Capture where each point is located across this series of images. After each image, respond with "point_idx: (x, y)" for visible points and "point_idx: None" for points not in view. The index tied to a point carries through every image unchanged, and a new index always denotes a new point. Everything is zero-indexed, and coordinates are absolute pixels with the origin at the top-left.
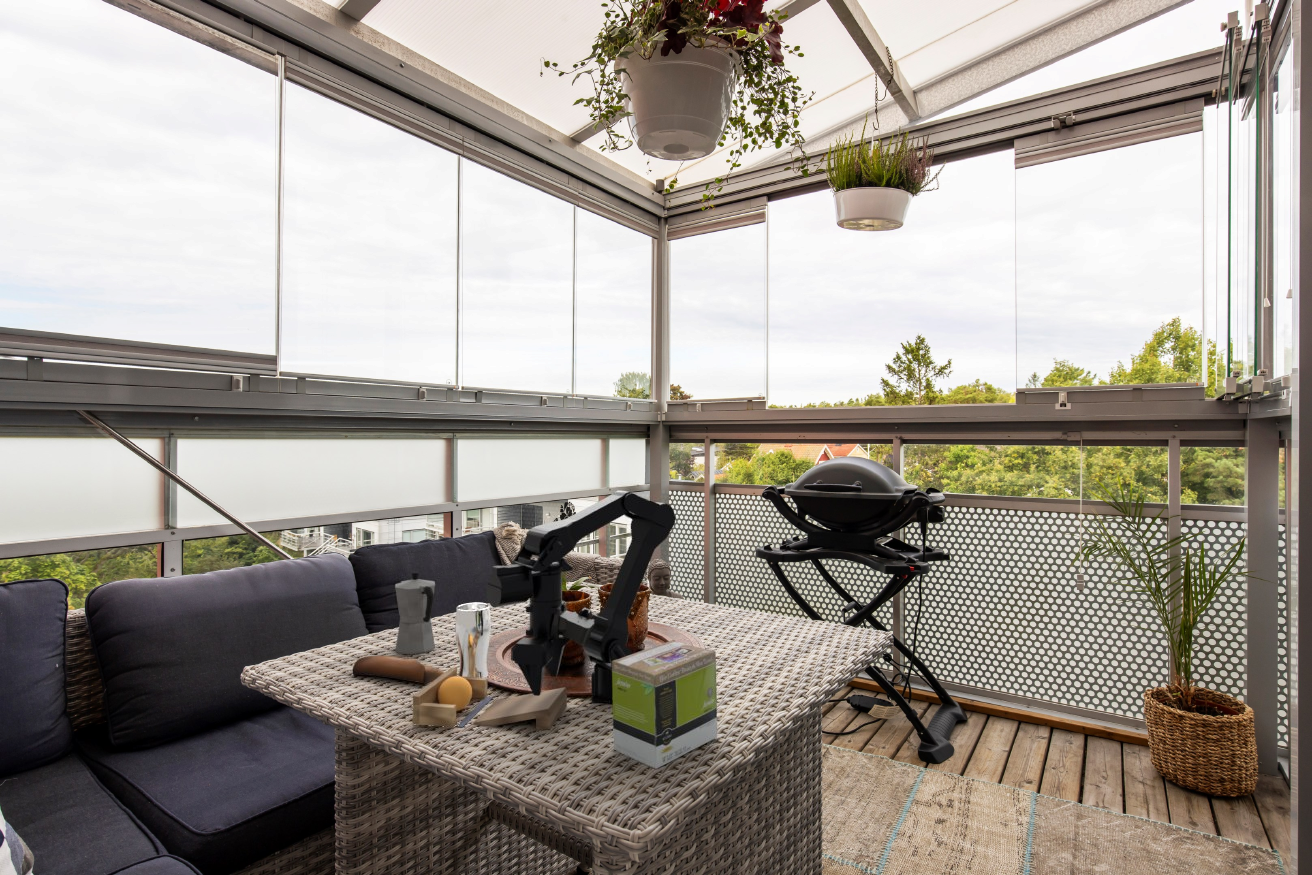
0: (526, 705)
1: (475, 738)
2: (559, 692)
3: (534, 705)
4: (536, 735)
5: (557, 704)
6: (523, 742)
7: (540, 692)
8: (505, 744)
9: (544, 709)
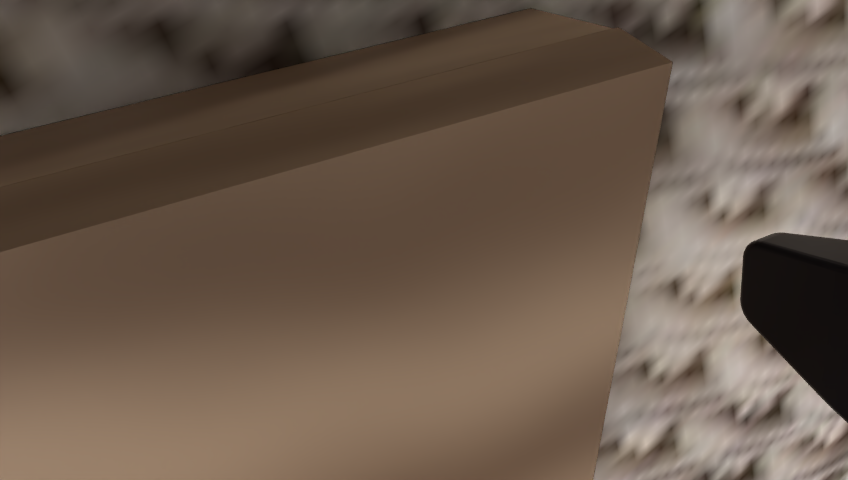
0: (425, 417)
1: (736, 403)
2: (87, 259)
3: (470, 324)
4: None
5: (330, 109)
6: (758, 88)
7: (799, 240)
8: (791, 188)
9: (660, 107)
